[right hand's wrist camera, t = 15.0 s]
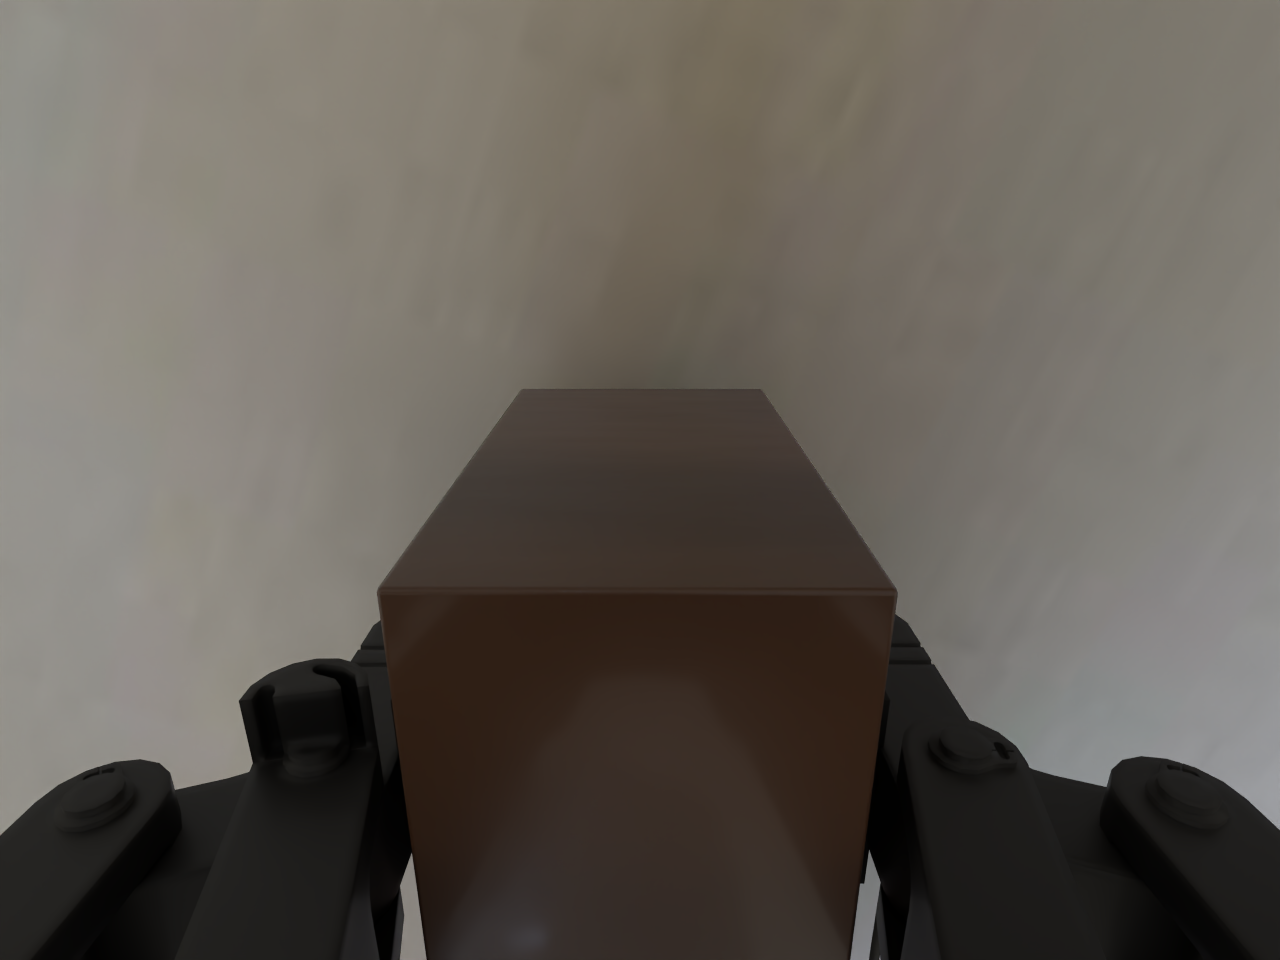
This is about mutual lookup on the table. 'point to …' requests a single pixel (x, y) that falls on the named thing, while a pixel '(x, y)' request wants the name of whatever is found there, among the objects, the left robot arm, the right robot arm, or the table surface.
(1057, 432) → the table surface
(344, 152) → the table surface
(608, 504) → the walnut beam
